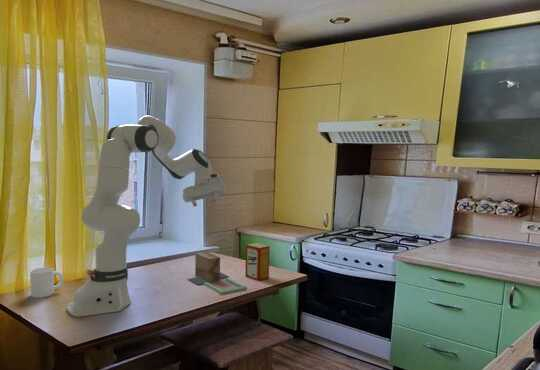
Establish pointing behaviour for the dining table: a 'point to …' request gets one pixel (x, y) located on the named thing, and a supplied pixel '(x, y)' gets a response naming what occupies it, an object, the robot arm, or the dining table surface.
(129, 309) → the dining table surface
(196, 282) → the trap mat left
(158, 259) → the dining table surface
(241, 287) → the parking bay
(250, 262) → the baking soda box
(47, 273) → the mug
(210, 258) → the walnut block
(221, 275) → the trap mat right
